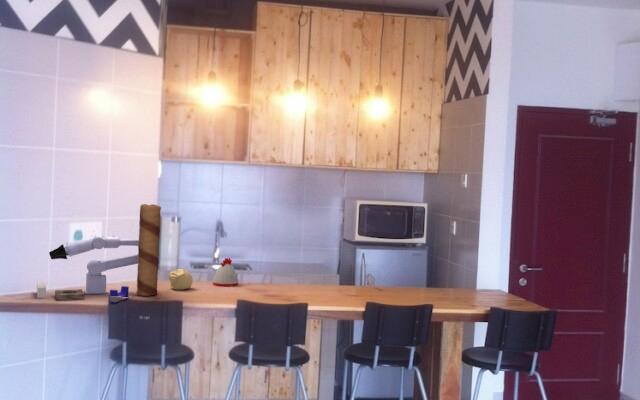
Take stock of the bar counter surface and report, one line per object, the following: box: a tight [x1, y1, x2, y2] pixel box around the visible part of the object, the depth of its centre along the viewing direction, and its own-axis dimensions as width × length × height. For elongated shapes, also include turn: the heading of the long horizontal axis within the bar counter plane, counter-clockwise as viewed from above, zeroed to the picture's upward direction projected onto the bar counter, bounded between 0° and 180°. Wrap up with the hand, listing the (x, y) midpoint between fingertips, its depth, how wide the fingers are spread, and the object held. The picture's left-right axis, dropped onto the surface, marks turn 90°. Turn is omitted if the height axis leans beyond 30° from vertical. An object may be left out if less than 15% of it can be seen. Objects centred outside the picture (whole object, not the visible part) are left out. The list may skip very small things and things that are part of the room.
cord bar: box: [36, 282, 47, 299], centre depth 309 cm, size 4×14×5 cm, turn 25°
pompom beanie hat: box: [212, 257, 239, 288], centre depth 360 cm, size 14×14×15 cm
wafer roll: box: [136, 203, 162, 297], centre depth 321 cm, size 10×11×45 cm
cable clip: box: [109, 285, 130, 298], centre depth 305 cm, size 12×4×6 cm, turn 168°
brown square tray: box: [54, 288, 86, 302], centre depth 307 cm, size 12×13×2 cm
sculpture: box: [168, 268, 194, 291], centre depth 341 cm, size 12×12×11 cm
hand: (50, 255), depth 312 cm, fingers open, 7 cm apart
